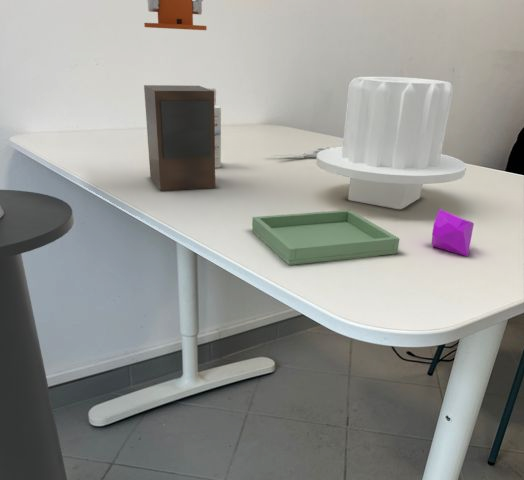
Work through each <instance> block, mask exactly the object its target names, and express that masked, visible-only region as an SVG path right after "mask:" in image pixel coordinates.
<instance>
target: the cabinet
mask: <svg viewBox="0 0 524 480" xmlns="http://www.w3.org/2000/svg"><path fill="white" fill-rule="evenodd" d="M143 90H144V103H145V105H144V106H145V120H146V131H147V132H146V134H147V135H146V136H147V148H148V163H149V164H148V165H149V178H150V180H151V181H152V182H153V183H154V184H155V185H156V186H157V188H158V190H160V191H161V192H166V191H167V192H168V191H185V190H202V189H203V190H204V189H216V168H215V117H214V91H213V90H210V89H207V87H205V86H201V85H178V84H177V85H174V84H173V85H172V84H171V85H170V84H169V85H167V84H164V85H162V84H161V85H157V84H151V85H150V84H144V85H143Z"/></svg>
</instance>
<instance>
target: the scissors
mask: <svg viewBox="0 0 524 480" xmlns="http://www.w3.org/2000/svg"><path fill="white" fill-rule="evenodd" d="M329 148H331V147H329V146H327V147H322V148H321V147H319V148H315V150H313V151H309V152H306V153H303V154H276V155H273V154H272V157H281V158H280V160H283V159H284V160H285V159H293V158H305V159H306V158H307V159H308V158H317V153H318V152H320V151H322V150H325V149H329Z"/></svg>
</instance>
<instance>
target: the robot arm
mask: <svg viewBox="0 0 524 480" xmlns="http://www.w3.org/2000/svg"><path fill="white" fill-rule="evenodd" d="M203 1H204V0H192V3H193V15H200V16H201V15H202V13H203V3H202V2H203ZM158 4H159V0H147V10H148V12H151V13H158V12H159V6H158ZM3 215H4V211H3V209H2V207H1V206H0V218H1V217H2V216H3Z"/></svg>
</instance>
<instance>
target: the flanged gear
mask: <svg viewBox="0 0 524 480" xmlns="http://www.w3.org/2000/svg"><path fill="white" fill-rule="evenodd" d="M453 95H454V87H453V85H452V83H451V82H450V81H446V80H445V81H444V80H440V79H439V80H438V79H430V78H419V77H404V76H374V75H373V76H372V75H371V76H357V77H354V78H352V79H351V80H350V82H349V85H348V89H347V99H346V107H345V108H346V109H345V116H344V117H345V119H344V126H343V127H344V128H343V138H342V146H335V147H330V148H329V149H325V150H322V151H320V152H318V153H317V157H316V161H315V164H316V166H317V167H318V168H320V170H323V171H326V172H328V173H331V174H334V175H337V176H341V177H346V178H349V184H348V195H347V200H348V201H351V202H355V203H361V204H368V205H373V206H378V207H383V208H389V209H393V210H403V209H405V208H406V207H408V206H409V205H411V204H413V203H414V202H416V201H418V200H419V199H420V198H421V193H422V188H423V185H434V184H442V183H443V184H444V183H449V182H455V181H458V180H460V179H463V178H464V177H465V175H466V171H467V164H466V163H465V162H464V161H462V159H460V158H459V159H458V158H456V157H453V156H451V155H447V154H443V153H442V152H443V148H444V147H443V146H444V142H445V137H446V131H447V125H448V121H449V115H450V110H451V105H452V101H453Z"/></svg>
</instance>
